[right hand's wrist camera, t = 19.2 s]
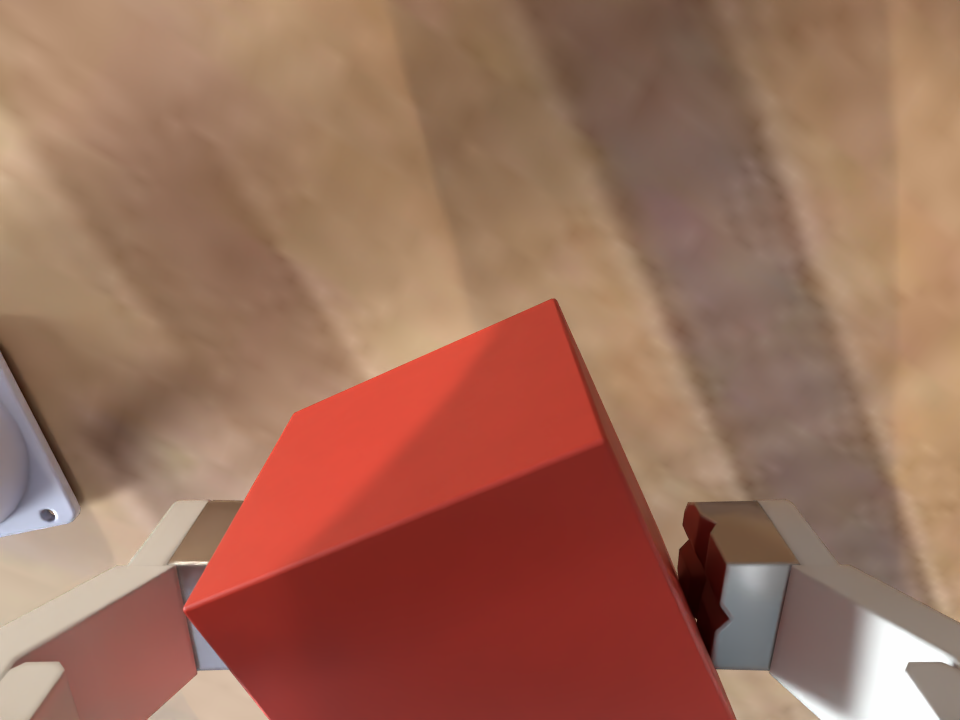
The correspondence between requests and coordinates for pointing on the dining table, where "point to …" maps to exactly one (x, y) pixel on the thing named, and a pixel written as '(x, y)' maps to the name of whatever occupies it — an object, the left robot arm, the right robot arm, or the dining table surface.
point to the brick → (457, 553)
